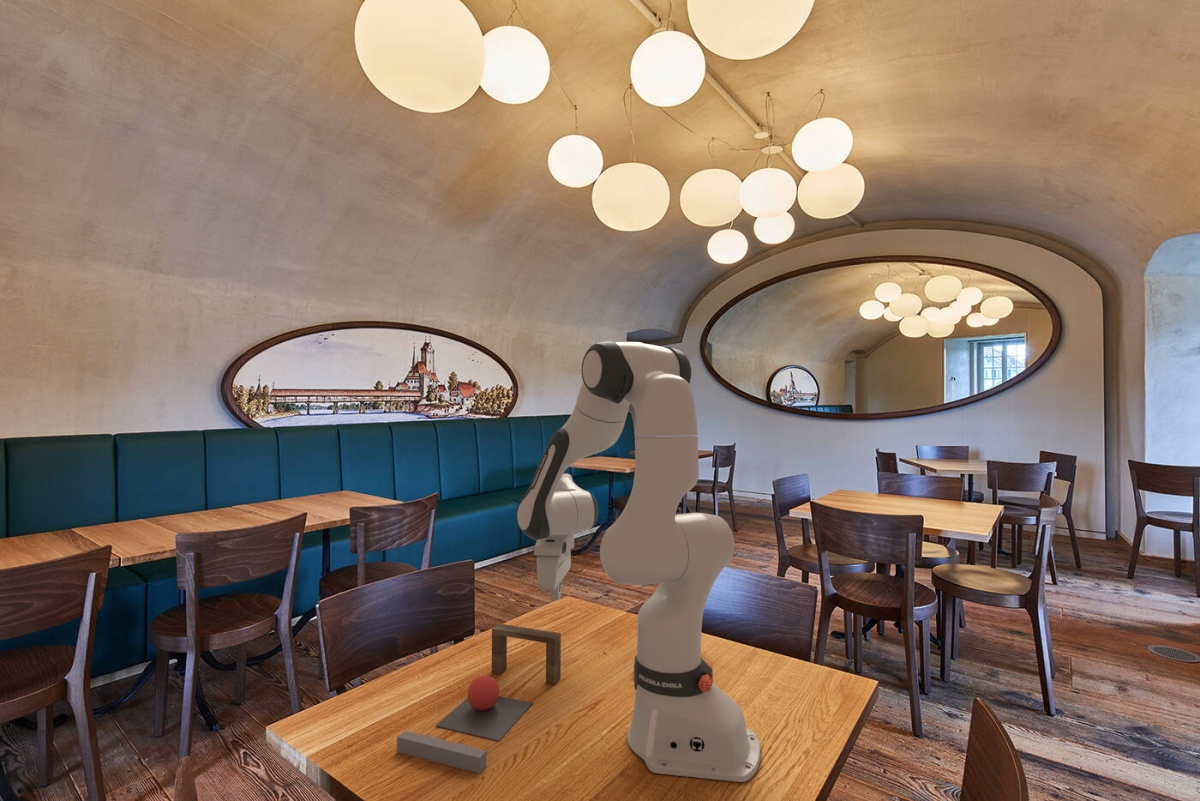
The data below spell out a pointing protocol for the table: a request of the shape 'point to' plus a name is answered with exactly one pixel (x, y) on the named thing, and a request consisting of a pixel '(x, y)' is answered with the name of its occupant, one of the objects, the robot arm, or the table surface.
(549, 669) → the bridge
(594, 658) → the table surface
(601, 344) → the robot arm
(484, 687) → the ball
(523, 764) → the table surface
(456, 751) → the wall
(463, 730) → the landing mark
